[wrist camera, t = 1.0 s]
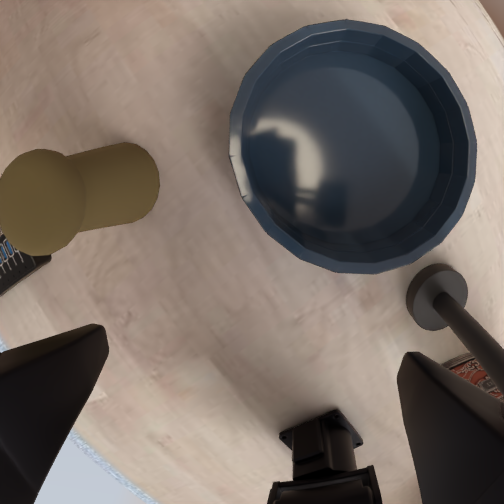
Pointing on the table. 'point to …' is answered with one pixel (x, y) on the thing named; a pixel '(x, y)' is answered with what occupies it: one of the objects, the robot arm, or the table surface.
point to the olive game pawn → (74, 194)
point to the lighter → (473, 373)
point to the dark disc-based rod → (453, 316)
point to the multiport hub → (16, 265)
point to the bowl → (352, 147)
